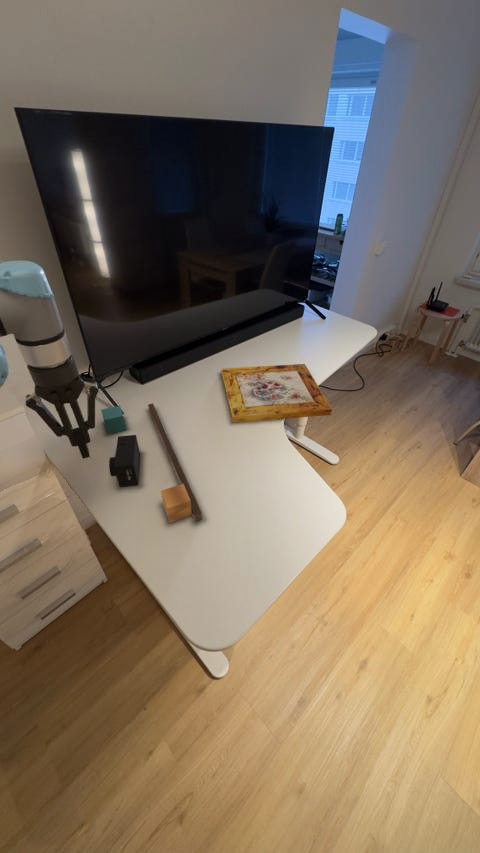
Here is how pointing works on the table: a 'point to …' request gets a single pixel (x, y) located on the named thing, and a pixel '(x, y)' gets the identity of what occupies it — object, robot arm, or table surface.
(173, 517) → the oak block
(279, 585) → the table surface
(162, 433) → the rail
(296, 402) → the picture frame
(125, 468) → the digital camera
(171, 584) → the table surface
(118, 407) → the teal block
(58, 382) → the robot arm
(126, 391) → the table surface
